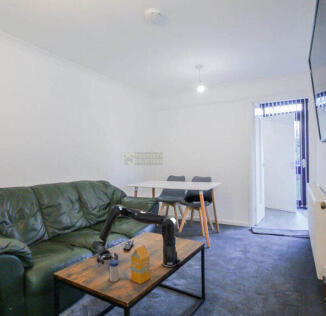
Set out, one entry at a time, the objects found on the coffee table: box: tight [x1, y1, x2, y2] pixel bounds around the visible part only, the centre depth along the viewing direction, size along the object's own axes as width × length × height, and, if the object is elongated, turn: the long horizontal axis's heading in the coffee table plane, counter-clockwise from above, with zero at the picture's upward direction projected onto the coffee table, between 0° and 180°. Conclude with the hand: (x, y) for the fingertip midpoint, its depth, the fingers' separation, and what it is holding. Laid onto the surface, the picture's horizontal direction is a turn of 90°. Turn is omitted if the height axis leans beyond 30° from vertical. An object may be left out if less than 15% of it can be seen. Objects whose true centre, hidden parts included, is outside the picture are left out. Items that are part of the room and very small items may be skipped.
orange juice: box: [130, 244, 150, 285], centre depth 152 cm, size 8×9×20 cm
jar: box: [109, 265, 119, 283], centre depth 152 cm, size 5×5×11 cm
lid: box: [108, 259, 120, 267], centre depth 152 cm, size 6×6×2 cm
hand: (110, 262), depth 162 cm, fingers open, 8 cm apart
